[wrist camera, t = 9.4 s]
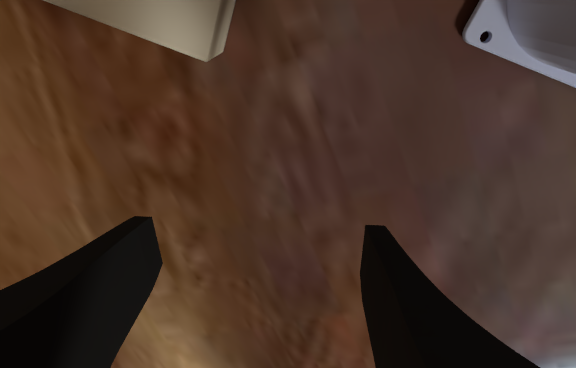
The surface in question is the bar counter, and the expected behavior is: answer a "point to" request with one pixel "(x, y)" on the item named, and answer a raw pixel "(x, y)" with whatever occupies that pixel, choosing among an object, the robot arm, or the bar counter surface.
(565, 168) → the bar counter surface
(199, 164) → the bar counter surface
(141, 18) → the birch block
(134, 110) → the bar counter surface
